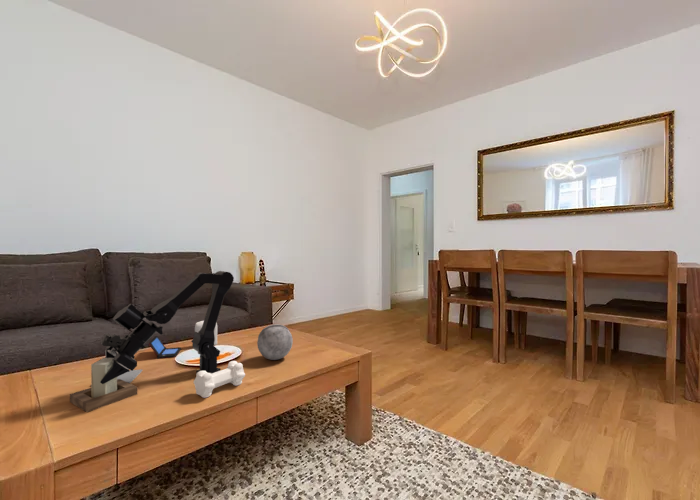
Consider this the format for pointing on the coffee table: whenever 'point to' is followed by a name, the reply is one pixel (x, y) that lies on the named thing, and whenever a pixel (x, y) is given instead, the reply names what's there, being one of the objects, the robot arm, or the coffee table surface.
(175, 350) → the handheld game console
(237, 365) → the white bone
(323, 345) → the coffee table surface
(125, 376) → the slate mat
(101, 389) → the skincare box
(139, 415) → the coffee table surface
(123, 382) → the walnut holder
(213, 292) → the robot arm
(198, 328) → the photo printer
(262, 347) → the decorative orb
